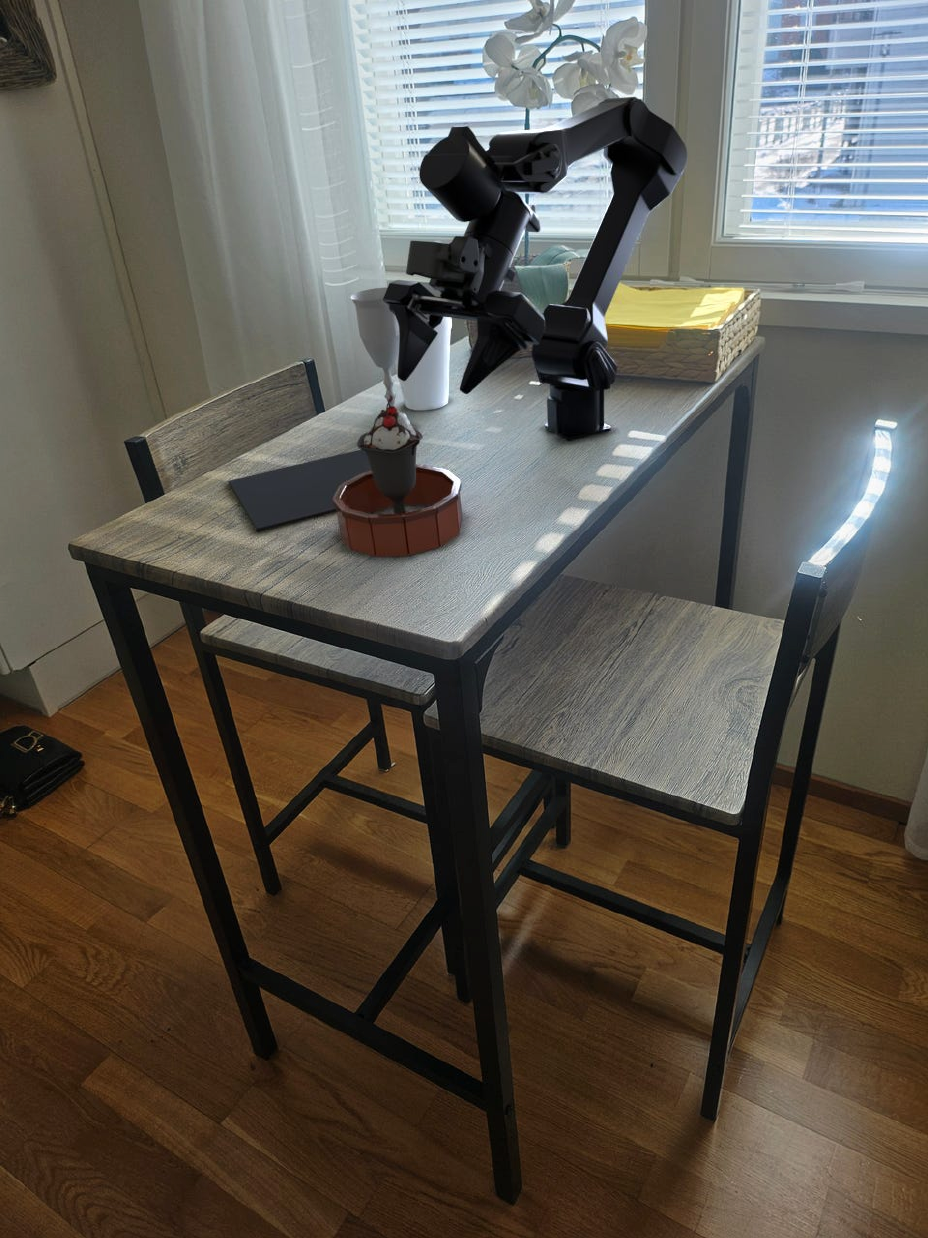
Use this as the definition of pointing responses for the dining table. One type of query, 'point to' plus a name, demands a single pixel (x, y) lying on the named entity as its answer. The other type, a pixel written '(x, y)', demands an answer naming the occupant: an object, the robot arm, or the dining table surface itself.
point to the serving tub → (401, 529)
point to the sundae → (392, 455)
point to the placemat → (297, 489)
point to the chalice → (379, 334)
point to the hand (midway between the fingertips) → (431, 385)
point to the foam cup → (430, 373)
